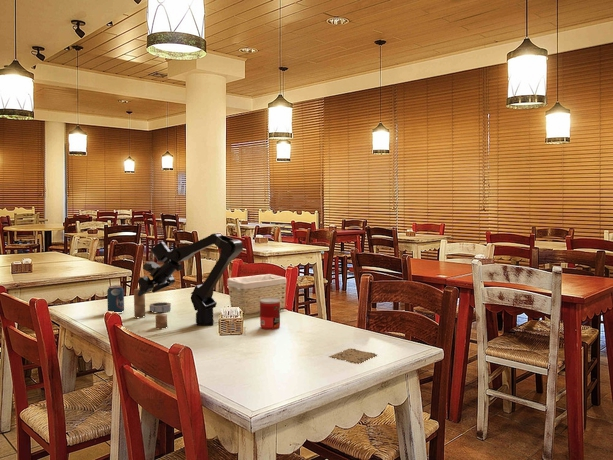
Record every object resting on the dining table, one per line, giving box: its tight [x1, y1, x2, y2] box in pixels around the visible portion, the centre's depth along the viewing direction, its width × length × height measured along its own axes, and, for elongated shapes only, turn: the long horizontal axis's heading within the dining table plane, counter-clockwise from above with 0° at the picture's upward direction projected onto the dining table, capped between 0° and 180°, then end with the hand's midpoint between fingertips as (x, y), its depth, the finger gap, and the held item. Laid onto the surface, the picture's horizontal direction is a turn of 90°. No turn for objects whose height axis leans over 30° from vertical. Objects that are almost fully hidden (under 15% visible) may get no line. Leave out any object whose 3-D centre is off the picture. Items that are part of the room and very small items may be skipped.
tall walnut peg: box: [133, 288, 146, 318], centre depth 227 cm, size 4×4×12 cm
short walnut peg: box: [155, 313, 168, 329], centre depth 209 cm, size 4×4×5 cm
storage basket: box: [226, 273, 288, 315], centre depth 243 cm, size 24×16×15 cm
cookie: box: [328, 347, 378, 365], centre depth 173 cm, size 12×12×1 cm
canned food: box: [259, 298, 281, 331], centre depth 210 cm, size 8×8×11 cm
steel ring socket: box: [149, 301, 172, 313], centre depth 240 cm, size 9×9×3 cm
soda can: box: [106, 284, 125, 312], centre depth 235 cm, size 7×7×12 cm
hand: (145, 293), depth 226 cm, fingers open, 9 cm apart
